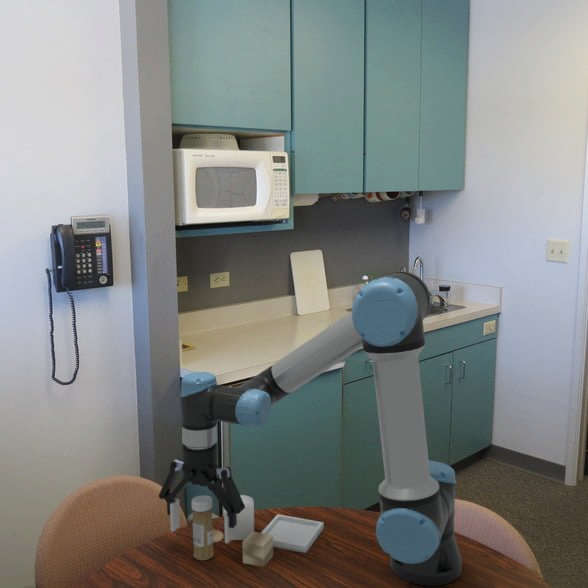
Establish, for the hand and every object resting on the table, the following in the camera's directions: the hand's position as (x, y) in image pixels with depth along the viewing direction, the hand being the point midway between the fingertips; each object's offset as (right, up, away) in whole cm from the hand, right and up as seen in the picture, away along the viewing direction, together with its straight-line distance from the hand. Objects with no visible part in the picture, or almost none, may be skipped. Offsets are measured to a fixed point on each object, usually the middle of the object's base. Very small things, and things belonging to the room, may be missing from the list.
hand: (201, 534), depth 154 cm
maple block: (+13, -5, -1) cm, 14 cm away
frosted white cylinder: (+8, -3, +11) cm, 13 cm away
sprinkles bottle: (0, -5, +1) cm, 5 cm away
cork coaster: (+1, -4, +9) cm, 10 cm away
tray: (+20, -3, +9) cm, 22 cm away
